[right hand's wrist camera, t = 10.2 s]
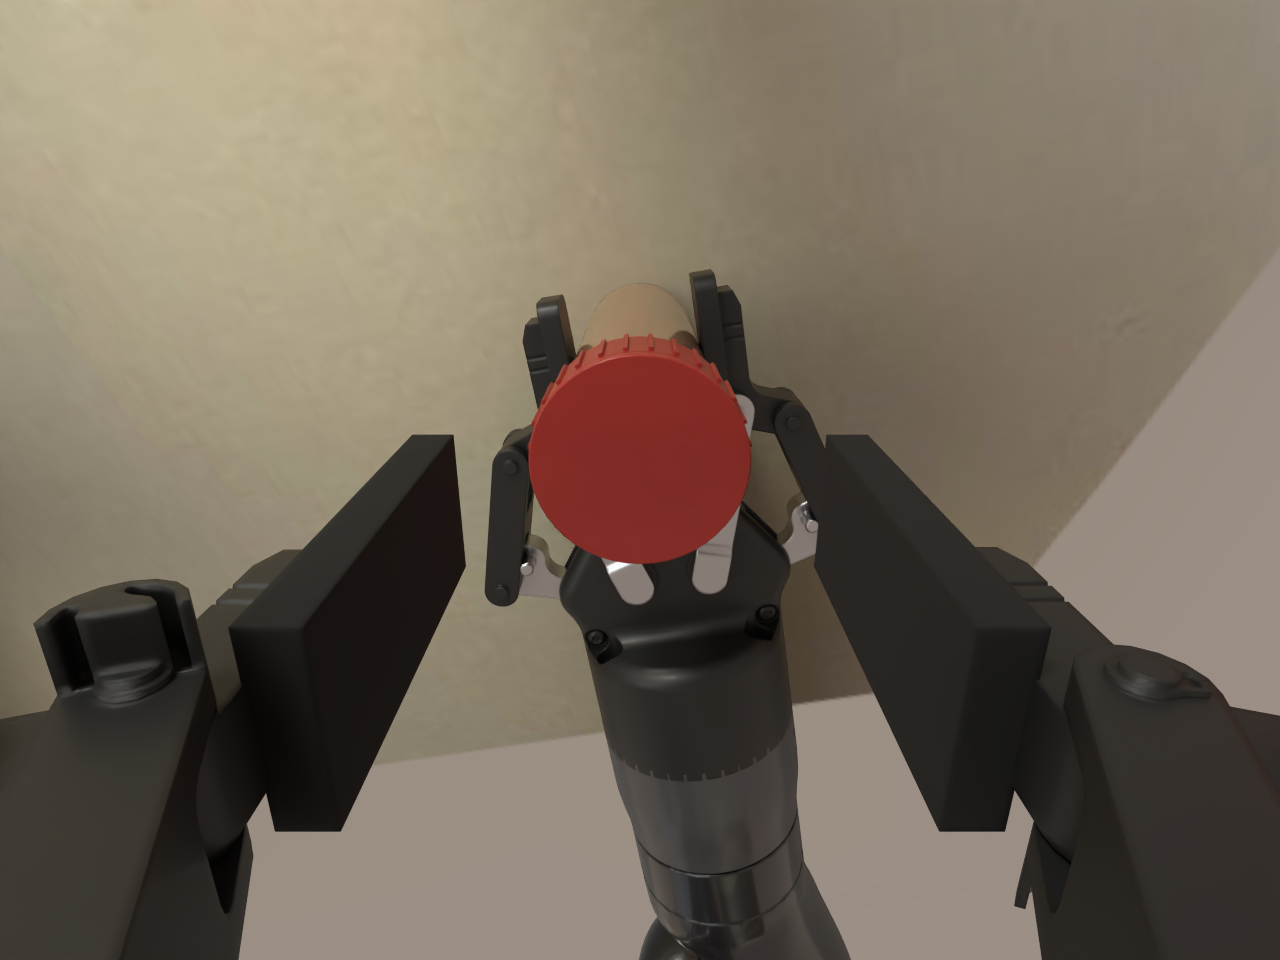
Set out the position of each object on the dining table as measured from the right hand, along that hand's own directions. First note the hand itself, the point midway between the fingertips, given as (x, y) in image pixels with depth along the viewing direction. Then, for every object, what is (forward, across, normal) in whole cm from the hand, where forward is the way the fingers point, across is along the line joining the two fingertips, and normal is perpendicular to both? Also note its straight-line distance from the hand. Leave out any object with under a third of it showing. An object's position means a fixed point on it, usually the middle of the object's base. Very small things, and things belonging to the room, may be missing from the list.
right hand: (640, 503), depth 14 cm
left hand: (+11, 0, -3) cm, 12 cm away
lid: (+2, 0, 0) cm, 2 cm away
